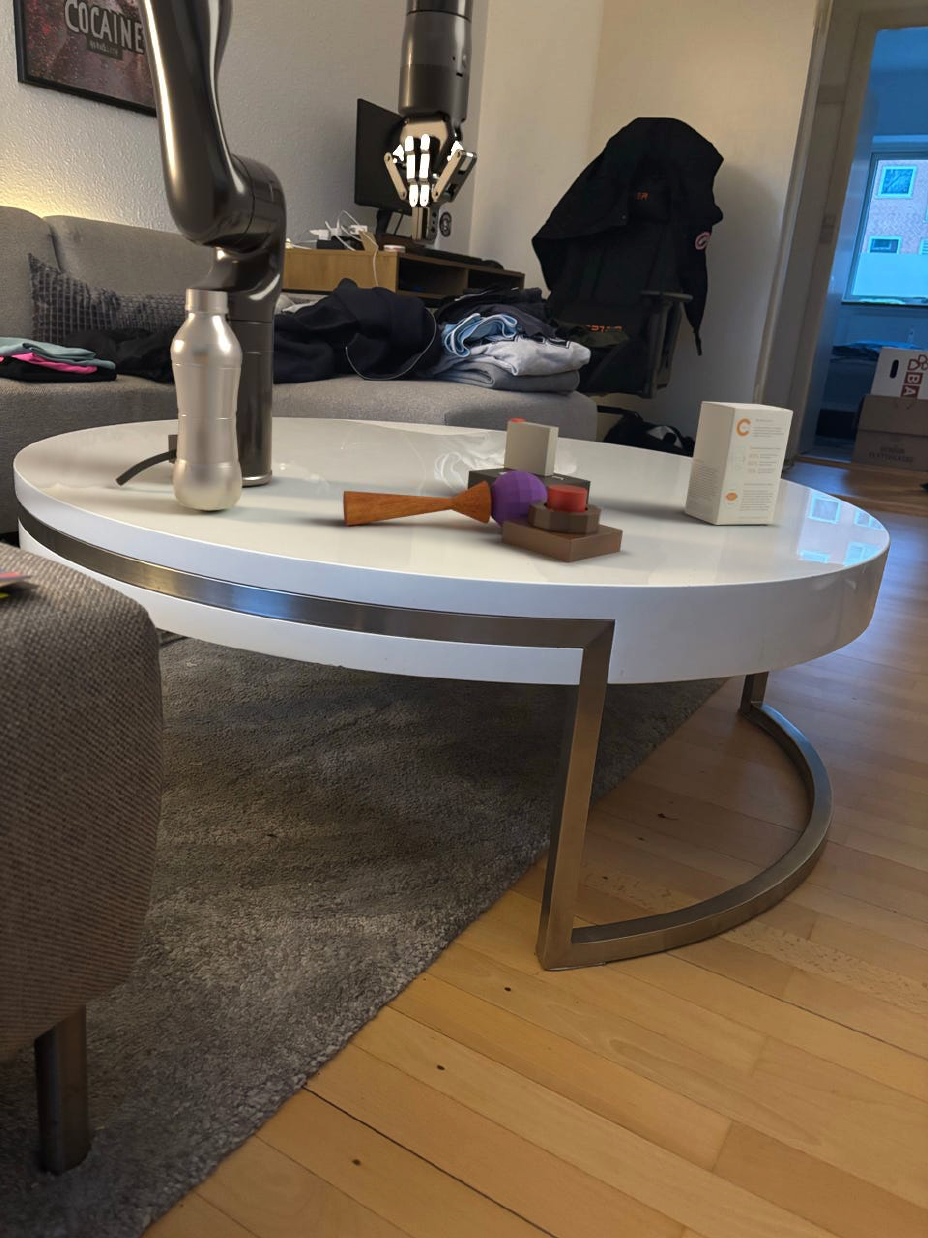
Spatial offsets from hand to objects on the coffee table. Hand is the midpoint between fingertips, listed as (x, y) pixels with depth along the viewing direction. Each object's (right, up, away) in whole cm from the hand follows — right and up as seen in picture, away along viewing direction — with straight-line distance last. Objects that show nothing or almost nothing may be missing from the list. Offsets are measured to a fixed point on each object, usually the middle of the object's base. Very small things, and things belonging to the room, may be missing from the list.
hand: (423, 243), depth 103 cm
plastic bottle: (-20, -32, -15) cm, 41 cm away
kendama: (+3, -34, -14) cm, 37 cm away
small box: (+35, -31, +3) cm, 47 cm away
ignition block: (+14, -36, -17) cm, 42 cm away
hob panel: (+12, -28, +4) cm, 31 cm away
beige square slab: (+12, -25, +4) cm, 28 cm away
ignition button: (+14, -32, -19) cm, 40 cm away
